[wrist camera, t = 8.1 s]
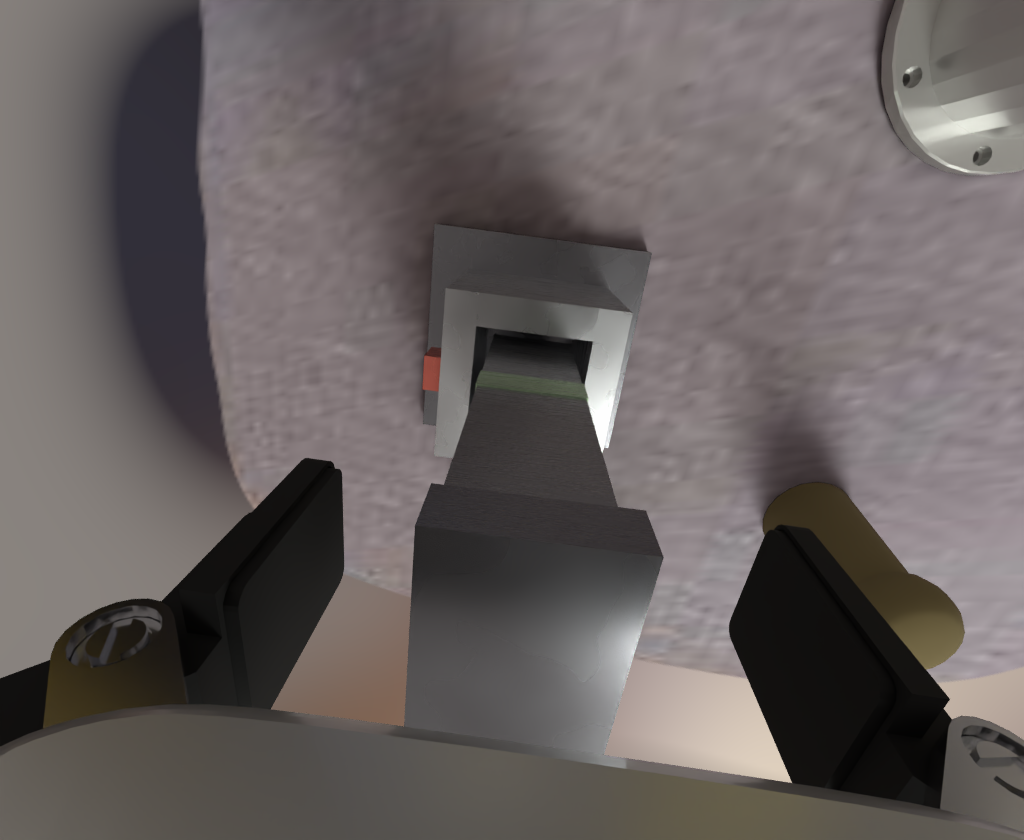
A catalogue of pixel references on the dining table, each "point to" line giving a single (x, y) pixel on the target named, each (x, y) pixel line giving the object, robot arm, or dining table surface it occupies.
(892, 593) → the olive knobbed figure
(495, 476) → the column
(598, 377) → the stand base
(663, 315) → the dining table surface
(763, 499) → the dining table surface
